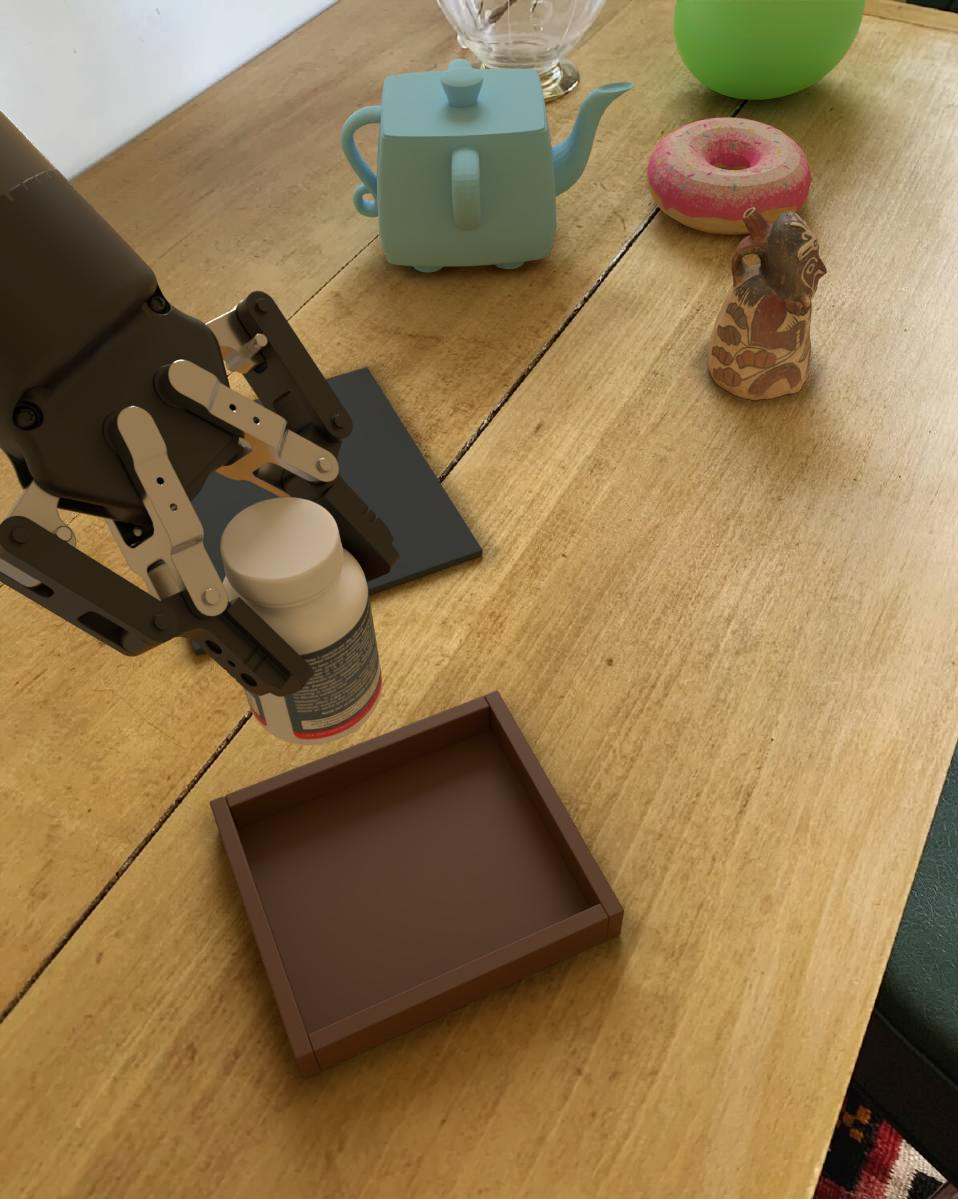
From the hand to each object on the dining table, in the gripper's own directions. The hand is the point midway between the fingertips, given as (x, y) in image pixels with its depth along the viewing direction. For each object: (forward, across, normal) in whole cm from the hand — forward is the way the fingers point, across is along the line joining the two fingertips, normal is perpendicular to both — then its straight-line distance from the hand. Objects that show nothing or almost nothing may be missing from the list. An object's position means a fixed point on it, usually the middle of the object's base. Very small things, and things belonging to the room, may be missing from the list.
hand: (340, 624), depth 39 cm
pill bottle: (+3, 0, +5) cm, 6 cm away
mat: (+1, +20, +27) cm, 34 cm away
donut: (+10, +66, +18) cm, 69 cm away
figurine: (+17, +46, +11) cm, 50 cm away
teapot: (-1, +53, +29) cm, 60 cm away
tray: (+15, 0, +13) cm, 19 cm away
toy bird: (+7, +88, +21) cm, 90 cm away
